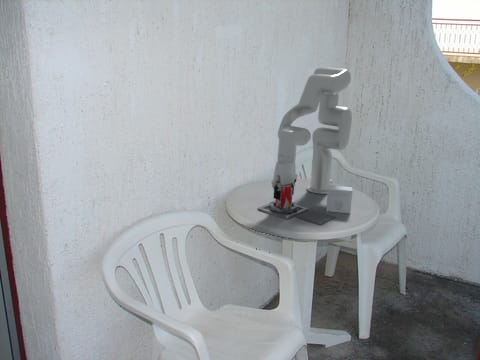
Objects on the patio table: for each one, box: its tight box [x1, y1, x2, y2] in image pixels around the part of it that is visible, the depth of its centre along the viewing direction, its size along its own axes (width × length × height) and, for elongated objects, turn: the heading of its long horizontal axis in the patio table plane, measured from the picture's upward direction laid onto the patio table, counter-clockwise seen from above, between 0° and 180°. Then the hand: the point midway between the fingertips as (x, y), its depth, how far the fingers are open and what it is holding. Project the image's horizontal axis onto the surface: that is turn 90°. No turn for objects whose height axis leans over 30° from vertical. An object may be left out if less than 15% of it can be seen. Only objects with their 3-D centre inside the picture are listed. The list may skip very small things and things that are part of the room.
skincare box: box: [325, 184, 353, 214], centre depth 203 cm, size 10×6×10 cm, turn 78°
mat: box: [295, 208, 337, 226], centre depth 195 cm, size 12×12×1 cm
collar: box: [257, 199, 310, 220], centre depth 202 cm, size 16×16×2 cm
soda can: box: [275, 183, 293, 208], centre depth 201 cm, size 7×7×12 cm
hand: (283, 196), depth 200 cm, fingers open, 9 cm apart
